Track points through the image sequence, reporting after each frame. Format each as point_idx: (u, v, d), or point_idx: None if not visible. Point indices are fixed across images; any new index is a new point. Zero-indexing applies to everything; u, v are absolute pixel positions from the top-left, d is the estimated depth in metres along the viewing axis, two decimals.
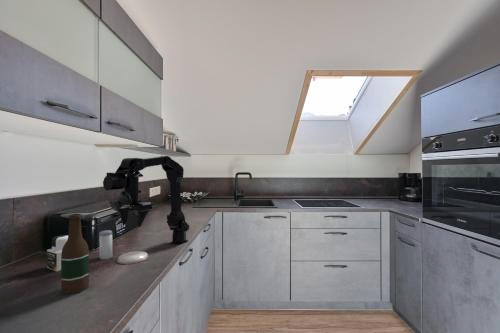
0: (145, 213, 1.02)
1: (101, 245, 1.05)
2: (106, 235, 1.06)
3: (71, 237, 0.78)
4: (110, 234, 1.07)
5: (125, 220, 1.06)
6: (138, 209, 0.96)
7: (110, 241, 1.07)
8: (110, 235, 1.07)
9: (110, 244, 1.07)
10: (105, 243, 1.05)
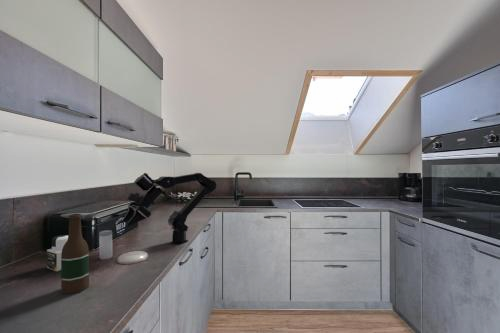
0: (140, 218, 1.10)
1: (101, 245, 1.05)
2: (106, 235, 1.06)
3: (71, 237, 0.78)
4: (110, 234, 1.07)
5: (126, 219, 1.17)
6: (138, 208, 1.08)
7: (110, 241, 1.07)
8: (110, 235, 1.07)
9: (110, 244, 1.07)
10: (105, 243, 1.05)
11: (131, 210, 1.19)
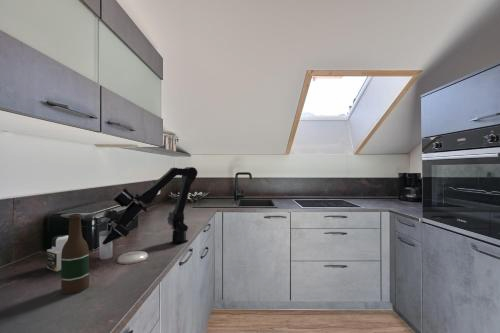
0: (117, 236, 1.06)
1: (101, 245, 1.05)
2: (106, 235, 1.06)
3: (71, 237, 0.78)
4: None
5: None
6: (114, 226, 1.02)
7: None
8: None
9: (110, 244, 1.07)
10: None
11: (110, 228, 1.11)
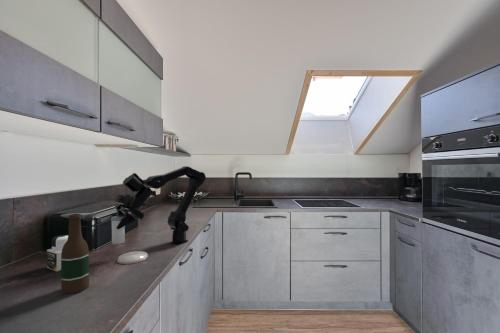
0: (131, 220, 1.06)
1: (114, 230, 1.04)
2: (119, 220, 1.05)
3: (71, 237, 0.78)
4: None
5: None
6: (130, 210, 1.02)
7: None
8: None
9: (123, 229, 1.06)
10: None
11: (121, 213, 1.10)
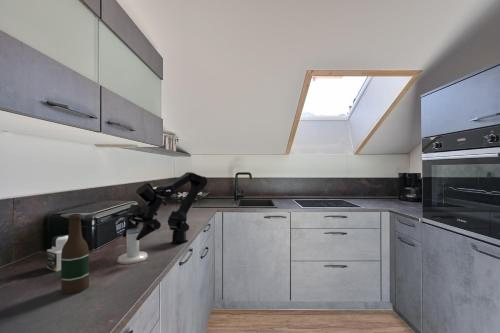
0: (149, 231, 1.06)
1: (130, 243, 1.04)
2: (135, 233, 1.05)
3: (71, 237, 0.78)
4: (138, 231, 1.06)
5: (126, 233, 1.08)
6: (149, 220, 1.03)
7: None
8: (138, 232, 1.06)
9: (138, 242, 1.06)
10: (135, 241, 1.04)
11: (130, 223, 1.10)
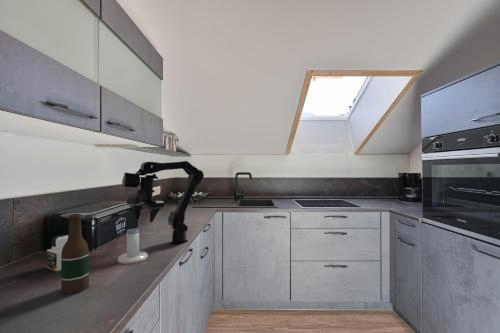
0: (157, 210, 1.17)
1: (131, 243, 1.04)
2: (136, 233, 1.05)
3: (71, 237, 0.78)
4: (138, 232, 1.06)
5: (138, 216, 1.20)
6: (152, 206, 1.12)
7: (138, 239, 1.06)
8: (138, 232, 1.06)
9: (138, 242, 1.06)
10: (135, 241, 1.04)
11: (136, 207, 1.19)
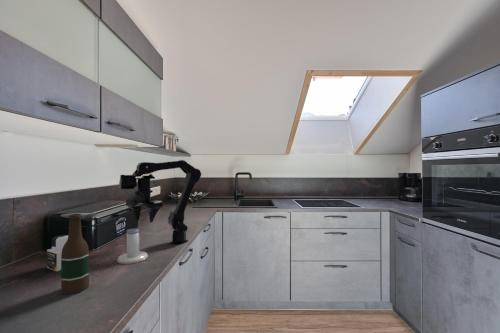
0: (156, 210, 1.17)
1: (131, 243, 1.04)
2: (136, 233, 1.05)
3: (71, 237, 0.78)
4: (138, 232, 1.06)
5: (138, 216, 1.21)
6: (151, 206, 1.12)
7: (138, 239, 1.06)
8: (138, 232, 1.06)
9: (138, 242, 1.06)
10: (135, 241, 1.04)
11: (135, 208, 1.20)
